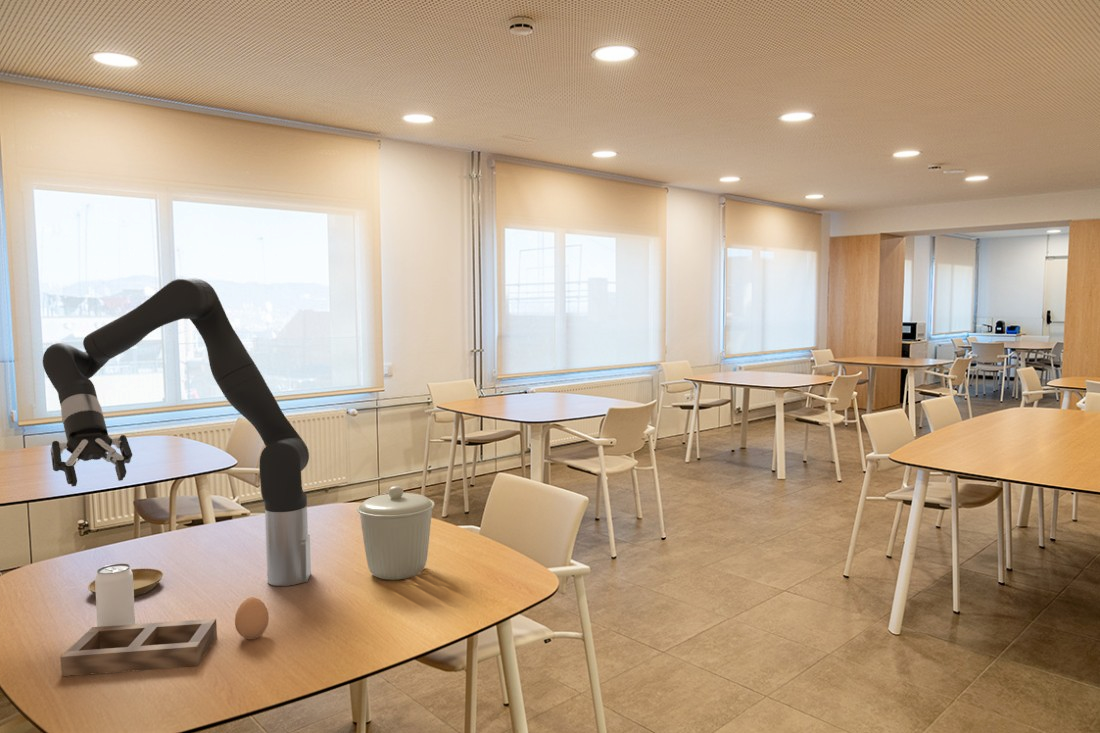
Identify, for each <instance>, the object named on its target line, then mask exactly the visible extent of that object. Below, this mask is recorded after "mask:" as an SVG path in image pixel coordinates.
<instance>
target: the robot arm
mask: <svg viewBox="0 0 1100 733" xmlns="http://www.w3.org/2000/svg"><path fill="white" fill-rule="evenodd" d="M180 320H190V321H191V323H192V324H193V326H194V327H195V328H196V330H197V331H198V333H199V335H200V337H201V338H202V339H203V341H204V344H205V347H206V348H205V349H206V352H207V358H208V362H209V367H210V370H211V375H212V377H213V378H214V382H216V384H217V386H218V387H219V389H220V391H221V393H222V395H223V396H224V398H225V399H226V400H227V401H228V403H229V404H230V406H232V408H234V409H235V410H236V411H237V412H238V413H239V414H240V415H241V416H243V417H244V419H246V420H247V421H248V422H249V423H250V424H251V425H252V426H253V427H254V428H255V430H256V432H257V433H258V434H259V436H260V438H261V440H262V441H263V444H264V446H265V447H264V448H263V449H262V451H261V453H260V456H259V468H258V469H259V482H260V483H259V484H260V494H261V497H262V500H263V503H264V514H265V515H264V517H265V521H264V522H265V547H266V552H265V553H266V575H267V577H266V578H267V580H266V581H267V583H268V584H269V585H270V586H274V587H275V586H276V587H287V586H294V585H299V584H301V583H307V582H308V581H309V578H310V576H311V574H312V564H311V536H310V535H311V534H309V528H308V527H309V526H308V525H309V524H308V496H307V494H306V492H304V490H303V483H302V471H303V470H304V469H305V468H306V467H307V465H308V464H309V461H310V452H309V449H308V446H307V444H306V443H305V441H304V440H303V438H302V437H301V436H300V434H299V433H298V432H297V431H296V429H295V428H294V427H293V425H292V424H291V423H290V421H289V420H288V419H287V417H286V416H285V414H284V413H283V410H282V409H281V408H280V406H279V403H278V401H277V400H276V398H275V396H274V394H273V393H272V391H271V389H270V388H269V386H268V384H267V382H266V381H265V380H266V379H264V376H263V375H262V372H261V371H260V370H259V368H258V366H257V365H256V363H255V361H254V360H253V358H252V357H251V356H250V354H249V352H248V350H247V349H246V348H245V345H244V344H243V342H242V341H241V339H240V337H239V336H238V333H236V331H235V329H234V328H233V326H232V324H231V322H230V319H229V318H228V316H227V314H226V311H225V309H224V307H223V305H222V303H221V300H220V299H219V296H218V294H217V292H216V291H215V288H214V287H212V285H211V284H210V283H208V282H207V281H205V280H204V279H201V278H200V279H199V278H195V277H194V278H193V277H192V278H190V277H180V278H175V279H173V280H171V281H170V282H168V283H167V284H166V285H164V286H163V287H162V288H161V289H159V290H158V291H157V292H155V293H154V294H153V295H152V296H150V297H149V298H148V299H147V300H145V301H144V302H142V303H141V304H139V305H138V306H136V307H135V308H134V309H132V310H131V311H129V312H127V313H125V314H124V315H122V316H119V317H118V318H116V319H114V320H112V321H110V322H109V323H107V324H104V326H103V325H102V326H101V327H100V328H97V329H96V330H93V331H92V332H91V333H89V334H87V335H86V336H85V337H84V339H83V342H82V345H83V349H84V350H85V351H83V350H81V349H78V348H76V347H74V346H73V345H70V344H67V343H63V342H57V343H54V344H51V345H50V346H49V347H47V348H46V349H45V351H44V354H43V357H42V366H43V370H44V372H45V374H46V376H47V378H48V379H49V381H50V383H51V385H52V387H53V388H54V389H55V390H56V392H57V395H58V400H59V405H60V412H61V413H60V415H61V422H62V425H63V429H64V432H65V433H64V434H65V438H66V441H67V442H59V441H58V440H54V441H52V442H51V447H50V456H51V463H52V470H53V471H54V472H59V471H60V472H61V471H62V472H64V474H65V479H66V482H67V484H68V485H70V486H71V488H72V487H77V484H78V479H77V478H78V477H77V474H76V469H75V466H76V465H77V464H78V463H79V461H80V460H82V461H83V462H86V461H87V462H88V461H91V460H94V461H97V460H101V459H103V460H105V461H106V462H107V463H111V464H112V465H114V466H115V467H114V469H115V473H116V477H117V480H118V481H119V482H121V481H123V480H124V478H126V475H127V469H126V464H130V463H131V461H132V460H131V459H132V458H133V452H132V449H131V447H130V444H129V441H128V438H127V436H126V435H124V434H122V435H120V436H119V437H114V438H112V437H110V435H109V432H108V428H107V425H106V420H105V418H104V413H103V410H102V407H101V404H100V402H99V399H98V395H97V391H96V388H95V385H94V383H93V381H92V380H91V378H92V377H94V375H96V374H97V372H98V371H99V370H101V368H103V367H104V366H105V365H106V364H107V363H108V362H109V361H110V360H111V359H113V358H115V357H116V356H119V355H121V354H122V353H125V352H126V351H128V350H130V349H131V348H133V347H135V345H138V343H140V342H141V341H142V340H143V339H145V337H146V336H148V335H149V334H150V333H152V332H153V331H155V330H157V329H159V328H161V327H163V326H165V325H168V324H170V323H173V322H176V321H180ZM112 445H114V446H115V447H116V449H119V451H120V453H119V452H118V451H117V450H116V449H115V448H114V447H112ZM65 450H66V451H68V452H69V453H70V454H71V455H70V456H69V458H68V459H67V460H66V461H63V460H62V455H61V454H63V452H64V451H65Z"/></svg>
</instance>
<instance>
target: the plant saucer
mask: <svg viewBox="0 0 1100 733" xmlns="http://www.w3.org/2000/svg"><path fill="white" fill-rule="evenodd" d="M130 569H131V568H130ZM131 571H132V573H133V587H134V597H138V596H140V594H141V595H144V594H146V593H148V592H149V591H151V590H153V589H154V588H156V586H157V585H158V584H159V582H160V581H161V580H162V579H163V576H164V572H163V571H162V570H159V569H156V568H132V569H131ZM87 588H88V590H89V591H90V592H91V593H92V594H94V595H95V596H96V591H95V579H94V580H93V581H91V582H90V583H89V584H88V585H87ZM143 593H144V594H143Z"/></svg>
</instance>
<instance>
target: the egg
mask: <svg viewBox="0 0 1100 733" xmlns="http://www.w3.org/2000/svg"><path fill="white" fill-rule="evenodd" d="M236 610H237V611H236V612H235V616H234V617H235V618H234V626H235V627H234V628H235V630H236V631H237V633H238V634H239V636H241V638H244V639H247V640H255V639H258V638H259V637H260V636H262V635H263V634H264V632H266V630H267V627H268V626H269V622H270V620H269V619H270V617H269V615H270V614H269V611H268V608H267V606H266V604H265V603H264V602H263V601H262V600H261V599H260V598H258V597H254V596H251V597H248V598H246V599H245V600H243V601H242V602H241V603H240V605H239V606H238V608H237V609H236Z"/></svg>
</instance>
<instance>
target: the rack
mask: <svg viewBox="0 0 1100 733" xmlns="http://www.w3.org/2000/svg"><path fill="white" fill-rule="evenodd" d="M217 632H218V629H217V618H206V619H193V620H177V621H176V620H175V621H164V622H163V621H162V622H149V623H134V624H132V625H118V626H104V627H98V626H91V627H90V628H89V629H88V630H87V632H85V633H84V634H83V635H82V636H81V637H80V638H78V640H77V641H76V642H75V643H73V645H71V646H70V647H69V648H68V649H67V650H65V652H64V653H63V654H62V655H61V656H60V657H59V658H60V673H61V677H62V676H63V677H71V676H70V675H75V676H84V675H83V674H88V675H92V674H91V673H100V674H106V673H105V672H108V673H107V674H109V672H113V673H122V672H121V671H125V672H133V671H132V670H135V671H136V670H138V671H149V670H160V669H161V668H162V669H163V670H164V669H173V668H176V669H177V668H186V667H187V668H189V667H198V666H199V664H200V662H201V661H202V659H203V658H204V657H205V656H206V654H207V652H208V651H209V650H210V647H211V646H212V644H213V643H214V641H215V640H216V638H217V637H218V633H217ZM135 671H134V672H135ZM136 672H137V671H136Z"/></svg>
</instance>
